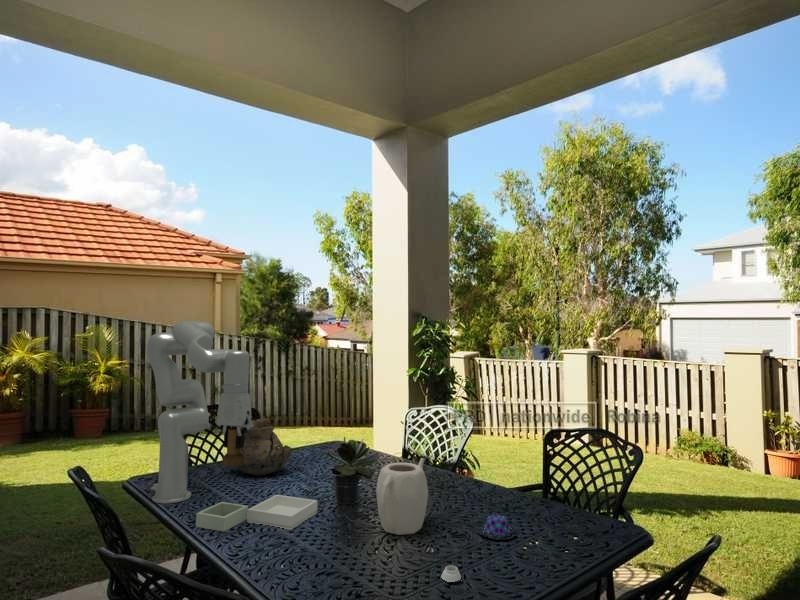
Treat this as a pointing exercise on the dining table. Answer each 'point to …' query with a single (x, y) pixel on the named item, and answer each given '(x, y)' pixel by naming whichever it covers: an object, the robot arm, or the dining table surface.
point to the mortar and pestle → (232, 450)
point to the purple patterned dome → (496, 525)
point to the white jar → (451, 574)
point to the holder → (221, 516)
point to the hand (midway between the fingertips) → (233, 446)
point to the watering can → (402, 497)
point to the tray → (282, 511)
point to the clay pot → (263, 450)
